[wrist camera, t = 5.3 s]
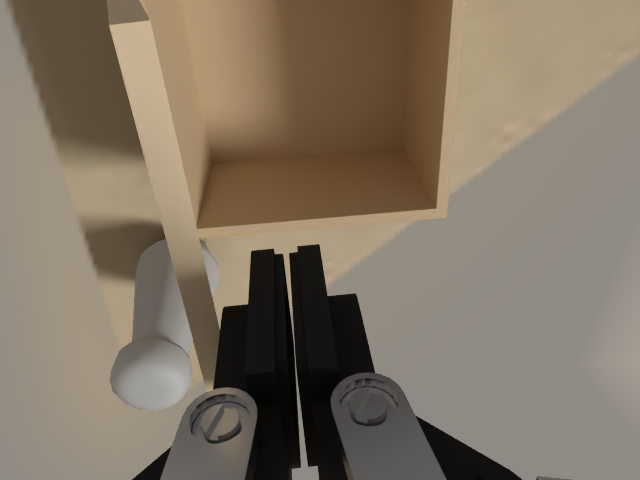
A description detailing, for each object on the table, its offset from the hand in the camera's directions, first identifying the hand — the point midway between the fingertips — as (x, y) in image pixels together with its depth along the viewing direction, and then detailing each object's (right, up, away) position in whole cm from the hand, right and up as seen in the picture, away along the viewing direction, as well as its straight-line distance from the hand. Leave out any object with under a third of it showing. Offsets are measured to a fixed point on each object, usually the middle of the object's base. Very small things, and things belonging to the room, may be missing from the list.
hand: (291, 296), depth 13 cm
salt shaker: (-10, 0, +26) cm, 28 cm away
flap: (-4, +3, +5) cm, 7 cm away
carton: (0, +12, +19) cm, 22 cm away
